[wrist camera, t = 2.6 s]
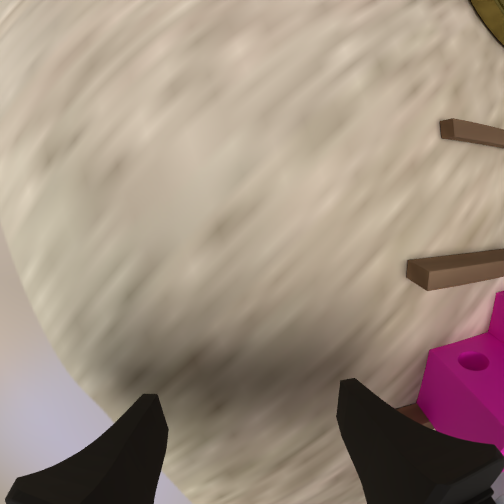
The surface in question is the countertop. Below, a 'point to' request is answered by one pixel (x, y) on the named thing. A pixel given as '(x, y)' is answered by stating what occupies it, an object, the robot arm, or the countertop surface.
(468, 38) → the countertop surface
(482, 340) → the magenta curved bracket
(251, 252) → the countertop surface
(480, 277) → the wooden slat rack
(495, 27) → the gold tapered round piece
